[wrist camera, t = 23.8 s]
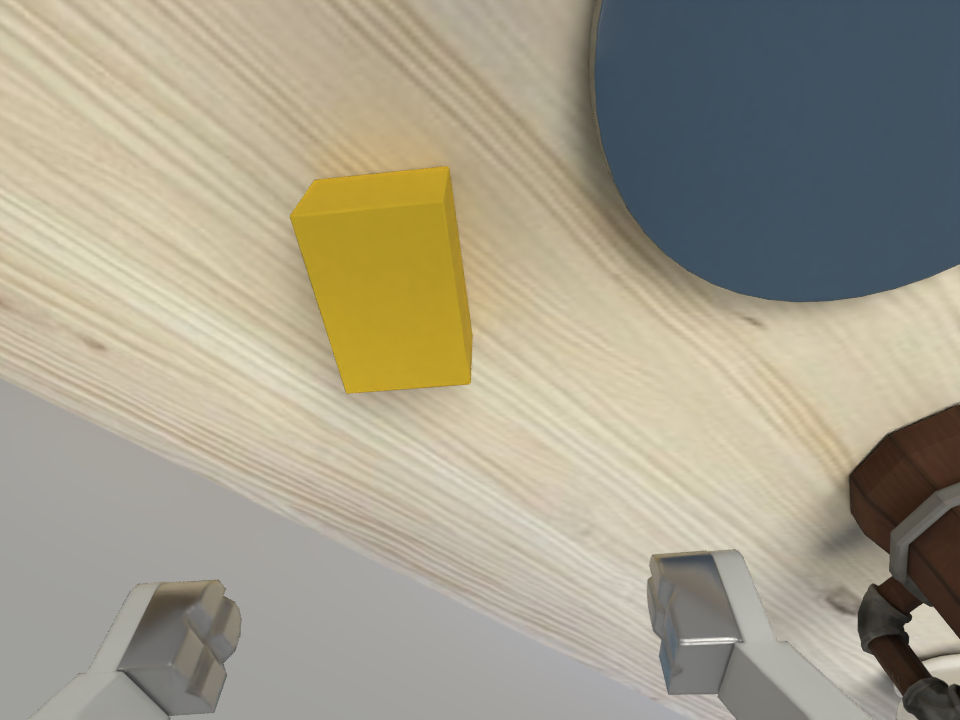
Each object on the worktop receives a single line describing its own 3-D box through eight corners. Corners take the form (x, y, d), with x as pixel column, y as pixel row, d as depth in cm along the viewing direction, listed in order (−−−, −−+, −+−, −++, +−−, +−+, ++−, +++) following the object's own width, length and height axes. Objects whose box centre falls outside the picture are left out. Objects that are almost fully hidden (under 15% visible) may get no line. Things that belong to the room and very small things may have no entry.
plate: (590, -373, 16) (598, -397, 15) (1479, -524, 14) (1569, -565, 13) (587, 305, 29) (591, 321, 28) (1054, 265, 28) (1080, 280, 26)
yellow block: (313, 179, 25) (288, 215, 22) (449, 165, 25) (443, 200, 22) (360, 345, 31) (345, 394, 28) (472, 336, 30) (471, 384, 27)
